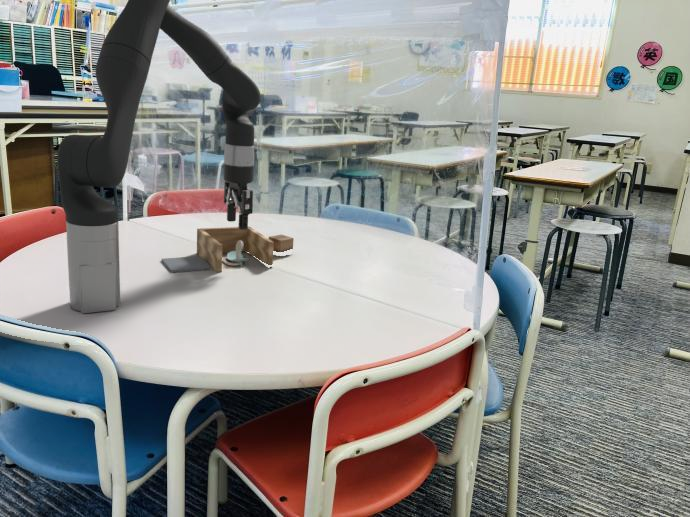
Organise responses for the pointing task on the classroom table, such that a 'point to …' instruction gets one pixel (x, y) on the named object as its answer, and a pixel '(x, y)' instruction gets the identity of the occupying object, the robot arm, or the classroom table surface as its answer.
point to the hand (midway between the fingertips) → (236, 224)
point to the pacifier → (235, 255)
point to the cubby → (232, 244)
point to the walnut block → (282, 243)
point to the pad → (186, 264)
